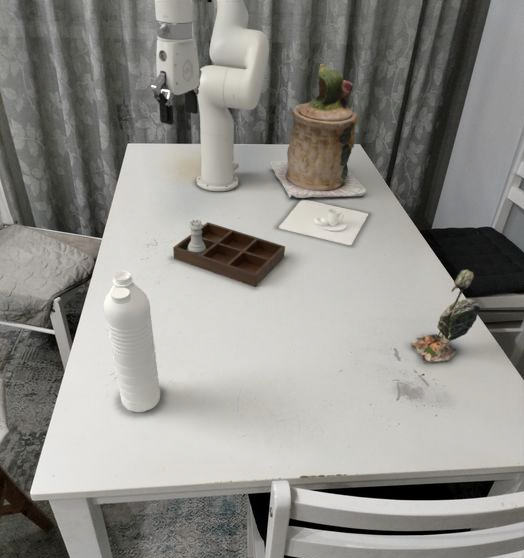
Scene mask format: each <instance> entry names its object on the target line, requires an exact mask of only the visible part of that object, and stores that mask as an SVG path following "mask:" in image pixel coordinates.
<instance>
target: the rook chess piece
mask: <svg viewBox="0 0 524 558" xmlns="http://www.w3.org/2000/svg"><path fill="white" fill-rule="evenodd" d="M189 223H190V224H189V225H188V228H189V229H190V231H189V232H190V235H191V241H190V243H189V245H188V251H190V252H193V253H196V254H199V255H201V254H202V253H203V252H205V251H206V246H205V244H204V242H203V241H202V230H201V229H202V228H203V225H204V224H203V222H202V221H201V220H199V219H192V220H191V221H189Z"/></svg>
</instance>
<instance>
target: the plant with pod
mask: <svg viewBox="0 0 524 558" xmlns="http://www.w3.org/2000/svg"><path fill="white" fill-rule="evenodd" d="M474 277H475V276H474V272H473V271H472V270H471V271H470V270H469V269H462V270H460V272H459V273H458V274H457V276H456V278H455V280H454V281H453V284H454V287H452V289H451V293H453V292H454V291H455V290H456V289H460V290H459V292H458V295H457V296H456V299H455V301H454V302H453V303H451V304H450V305H449V306H447V307H446V309H444V310H443V312H442V313H441V314H440V315H439V320H438V322H437V329H438V330H439V332H438V333H435V334H425V335H422V336H420V337H416V339H415V340H413V341H412V342H411V343H410V346H411V347H413V348H416V350H415V351H417V353H418V355H419V356H420V357H421V359H422V361H423V362H427V363H432V362H433V363H435V362H436V363H437V362H443V361H444V362H447V361H449V360H450V359H451V358H452V357H453V355H455V354H456V352H458V350H457V349H456V347H452V346H451V345H450V344H449V342H452V341H455V340H458V339H459V338H460V337H462V336H465V335H466V334H467V333H468V332H469V330H470V329H471V328H472V327H473V325H474V323H475V322H476V321H477V318H478V315H479V312H480V310H481V306H483V307H484V303H482V304H481V305H480V304H479V303H478V302H477V301H475V300H474V299H471V298H464V299H460V297H461V296H462V293H463V292H464V290H466V289H468V288H469V287H470V285H471V284H472V282H473V280H474Z"/></svg>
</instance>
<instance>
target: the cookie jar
mask: <svg viewBox="0 0 524 558" xmlns="http://www.w3.org/2000/svg"><path fill="white" fill-rule="evenodd" d="M317 73H318V74H317V75H318V81H317V84H318V96H316V97H314V98H313V99H311V100H310V101H308V102H306V103H299V104H297V105H295V107H293V108H292V110H291V115H292V118H293V124H292V128H291V132H290V138H289V139H290V140H289V143H288V147H287V151H286V157H287V161H276V160H275V161H271V162H270V165H271V168H272V171H273V173H274V176H275V177H276V178H277V179H278V180H279V182H280V184H281V185H282V186H283V188H284V189H285V192H286V193H287V195H288V197H289V199H290V198H291V197H294V198H299V199H305V198H312V197H313V198H339V197H362V196H364V195H365V194H366V193H367V189H366V187H365V185H362V183H360V182H359V180H358V179H357V177H356V176H354V175H353V173H351V172H350V170H349V169H348V162H349V159H350V156H351V154H352V152H353V151H352V150H353V149H354V148H355V130H356V126H357V123H358V119H357V117H358V116H357V113H356V112H353V111H352V110H351V108H349V106H348V105H347V100H346V98H348V97H350V96H351V93H352V90H353V87H354V84H353V83H352V81H350V80H347V79H346V80H345V79H344V78H343V77H344V76H343V75H342V73H341V72H340V71H339V70H336V69H333V68H330V67H328V66H327V65H326V64H325V63H321V64H320V65H319V67H318V71H317Z"/></svg>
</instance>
